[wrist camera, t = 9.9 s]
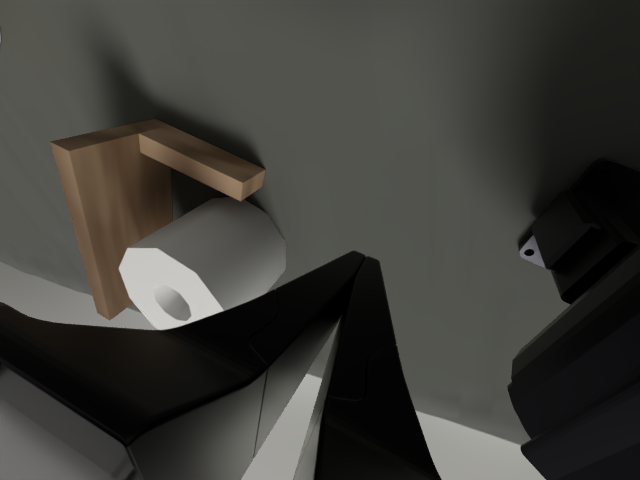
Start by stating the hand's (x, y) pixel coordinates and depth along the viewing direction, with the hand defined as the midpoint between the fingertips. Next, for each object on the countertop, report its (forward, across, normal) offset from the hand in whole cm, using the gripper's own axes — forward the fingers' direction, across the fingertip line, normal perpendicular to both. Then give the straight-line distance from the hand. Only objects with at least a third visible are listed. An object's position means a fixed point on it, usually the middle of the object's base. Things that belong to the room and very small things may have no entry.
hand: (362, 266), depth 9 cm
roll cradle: (+12, +16, +12) cm, 24 cm away
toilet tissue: (+12, +12, +14) cm, 22 cm away
